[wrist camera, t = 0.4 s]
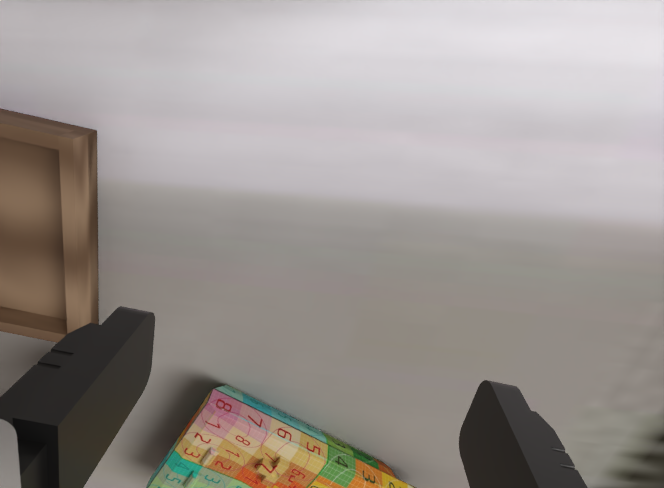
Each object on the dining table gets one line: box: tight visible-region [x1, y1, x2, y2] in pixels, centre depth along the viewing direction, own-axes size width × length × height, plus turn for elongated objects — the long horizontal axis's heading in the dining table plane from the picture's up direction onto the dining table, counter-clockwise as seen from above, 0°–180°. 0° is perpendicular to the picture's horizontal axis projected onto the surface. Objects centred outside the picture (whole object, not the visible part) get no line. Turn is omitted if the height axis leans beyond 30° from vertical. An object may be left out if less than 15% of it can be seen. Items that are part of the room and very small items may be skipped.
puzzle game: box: [146, 385, 416, 488], centre depth 36 cm, size 12×5×20 cm
